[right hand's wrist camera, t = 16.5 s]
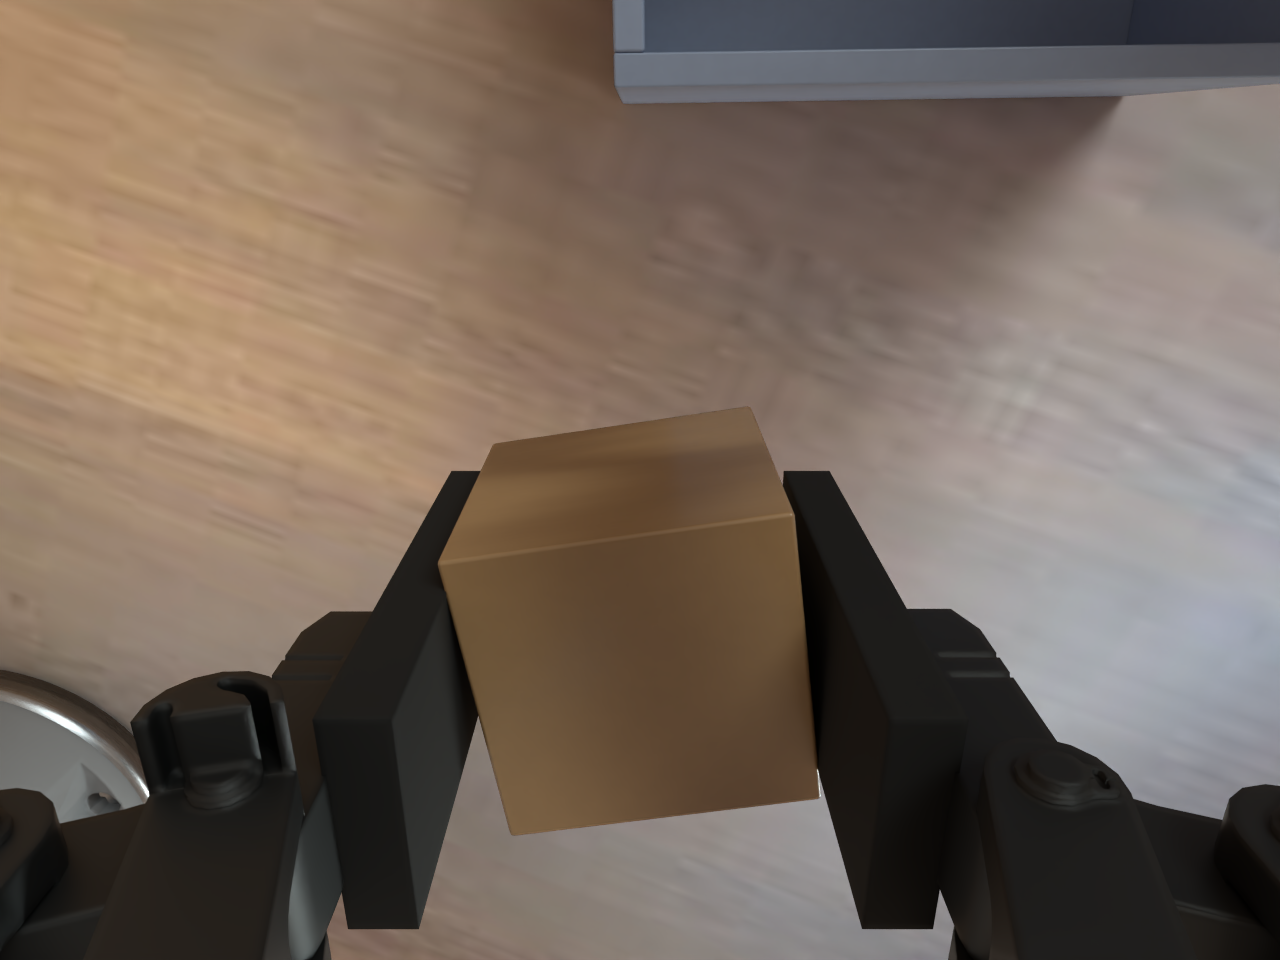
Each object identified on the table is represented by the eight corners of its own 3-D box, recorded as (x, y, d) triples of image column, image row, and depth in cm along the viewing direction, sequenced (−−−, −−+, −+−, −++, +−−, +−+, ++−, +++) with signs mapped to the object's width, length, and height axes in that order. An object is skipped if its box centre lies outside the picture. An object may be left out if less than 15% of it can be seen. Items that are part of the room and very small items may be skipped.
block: (542, 660, 16) (510, 838, 12) (492, 443, 14) (435, 562, 10) (775, 629, 16) (822, 799, 12) (751, 405, 14) (795, 512, 10)
